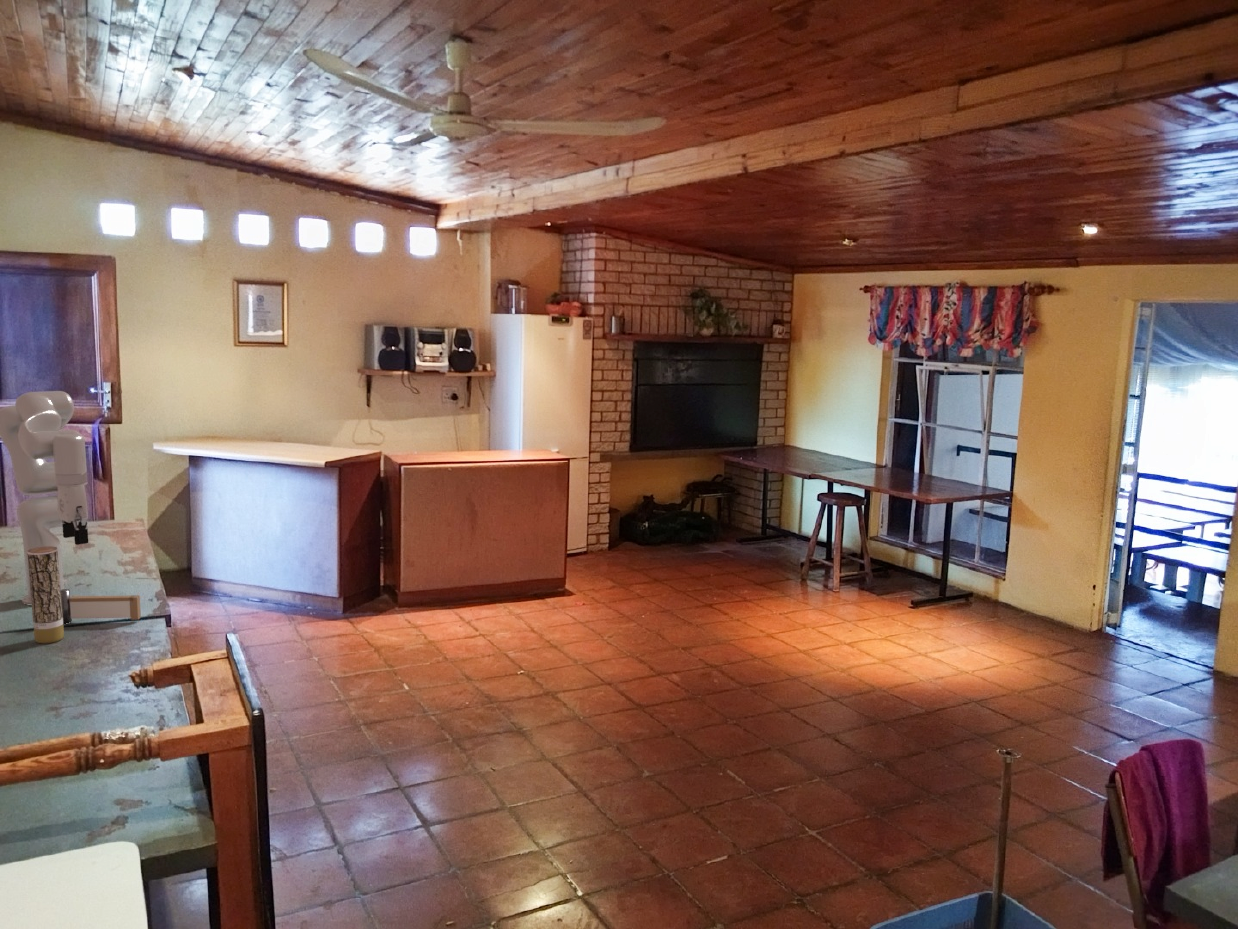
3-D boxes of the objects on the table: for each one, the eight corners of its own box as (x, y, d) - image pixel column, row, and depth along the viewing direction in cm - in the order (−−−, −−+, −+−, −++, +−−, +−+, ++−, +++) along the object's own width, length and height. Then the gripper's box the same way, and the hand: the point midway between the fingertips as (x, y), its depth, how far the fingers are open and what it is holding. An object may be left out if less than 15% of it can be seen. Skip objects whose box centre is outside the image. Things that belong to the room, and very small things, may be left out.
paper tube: (54, 644, 246) (46, 553, 242) (29, 644, 246) (21, 552, 242) (69, 636, 253) (62, 546, 249) (45, 635, 253) (37, 546, 249)
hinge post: (62, 621, 264) (60, 589, 262) (73, 621, 264) (71, 589, 263) (57, 624, 261) (55, 592, 260) (69, 624, 261) (66, 592, 260)
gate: (74, 618, 264) (72, 596, 263) (140, 617, 266) (139, 595, 265) (70, 620, 262) (69, 598, 261) (138, 619, 264) (136, 597, 263)
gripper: (46, 476, 255) (50, 536, 258) (66, 485, 244) (70, 549, 247) (76, 473, 261) (80, 532, 264) (97, 482, 249) (101, 544, 252)
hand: (75, 540), depth 255 cm, fingers open, 9 cm apart
